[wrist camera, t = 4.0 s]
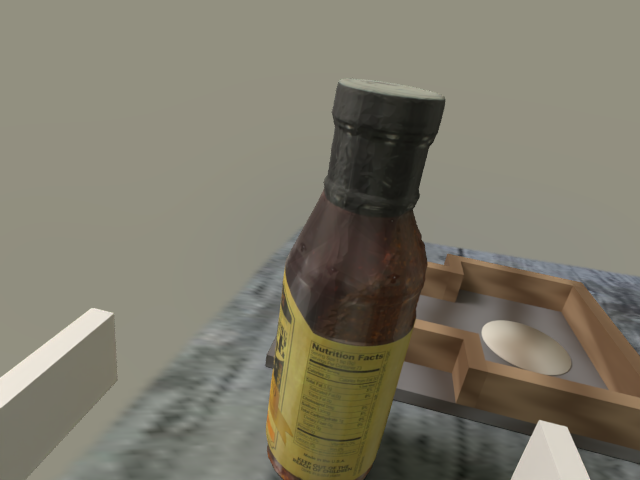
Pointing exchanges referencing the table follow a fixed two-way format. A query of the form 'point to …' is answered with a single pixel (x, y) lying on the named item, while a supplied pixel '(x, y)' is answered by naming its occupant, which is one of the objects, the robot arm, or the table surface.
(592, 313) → the keyhole guide
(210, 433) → the table surface
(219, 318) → the table surface
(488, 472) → the table surface
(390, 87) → the sauce bottle
